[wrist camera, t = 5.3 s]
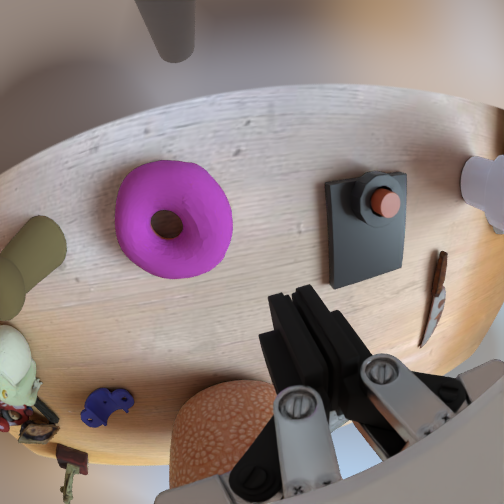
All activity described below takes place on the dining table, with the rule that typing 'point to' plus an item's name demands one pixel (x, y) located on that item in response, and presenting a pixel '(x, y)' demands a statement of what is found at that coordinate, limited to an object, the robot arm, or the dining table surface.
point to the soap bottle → (485, 187)
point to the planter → (218, 429)
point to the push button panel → (364, 228)
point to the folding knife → (46, 411)
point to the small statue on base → (71, 467)
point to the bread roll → (37, 432)
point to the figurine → (16, 369)
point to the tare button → (385, 202)
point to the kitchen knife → (436, 297)
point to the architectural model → (498, 230)
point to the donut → (181, 203)
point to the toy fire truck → (13, 415)
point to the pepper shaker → (28, 262)
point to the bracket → (105, 405)
